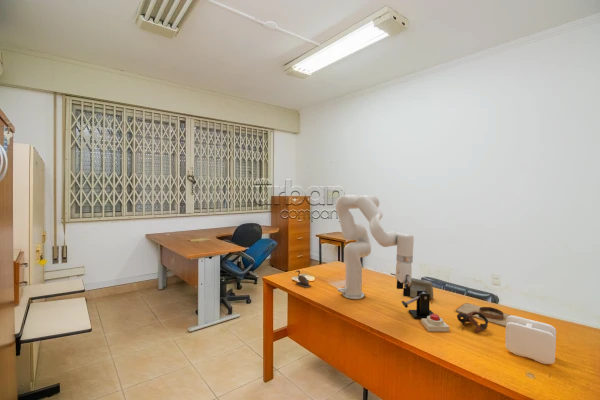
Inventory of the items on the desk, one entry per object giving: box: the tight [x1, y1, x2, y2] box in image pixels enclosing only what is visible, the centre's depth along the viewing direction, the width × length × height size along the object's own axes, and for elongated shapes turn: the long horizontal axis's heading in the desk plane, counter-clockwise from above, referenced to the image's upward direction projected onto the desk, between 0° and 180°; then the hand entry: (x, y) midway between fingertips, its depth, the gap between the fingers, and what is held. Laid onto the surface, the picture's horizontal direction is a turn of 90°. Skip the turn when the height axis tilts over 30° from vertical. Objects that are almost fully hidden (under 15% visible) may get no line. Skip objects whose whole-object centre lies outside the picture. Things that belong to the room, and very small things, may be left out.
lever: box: [401, 292, 425, 309], centre depth 140 cm, size 12×5×2 cm, turn 88°
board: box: [455, 302, 512, 328], centre depth 140 cm, size 25×15×3 cm, turn 41°
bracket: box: [408, 290, 435, 320], centre depth 140 cm, size 11×8×12 cm
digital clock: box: [405, 277, 434, 299], centre depth 165 cm, size 16×9×11 cm, turn 39°
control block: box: [420, 315, 450, 333], centre depth 128 cm, size 9×8×4 cm
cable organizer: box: [504, 314, 557, 365], centre depth 107 cm, size 15×11×12 cm
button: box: [431, 313, 440, 321], centre depth 128 cm, size 4×4×2 cm
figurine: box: [295, 270, 312, 289], centre depth 186 cm, size 14×4×9 cm, turn 38°
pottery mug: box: [456, 311, 489, 333], centre depth 127 cm, size 12×10×8 cm
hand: (403, 292), depth 140 cm, fingers open, 9 cm apart
